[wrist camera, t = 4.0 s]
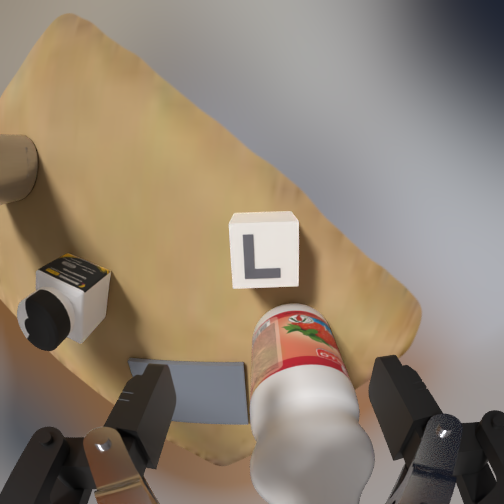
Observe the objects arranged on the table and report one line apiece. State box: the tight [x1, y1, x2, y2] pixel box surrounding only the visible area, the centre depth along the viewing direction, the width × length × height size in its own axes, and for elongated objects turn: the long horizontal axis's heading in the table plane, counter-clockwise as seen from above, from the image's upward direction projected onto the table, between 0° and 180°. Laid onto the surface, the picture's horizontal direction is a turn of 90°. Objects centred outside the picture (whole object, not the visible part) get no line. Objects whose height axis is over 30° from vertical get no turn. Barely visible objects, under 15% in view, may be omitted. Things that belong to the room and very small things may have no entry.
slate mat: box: [128, 358, 248, 424], centre depth 38 cm, size 16×12×1 cm
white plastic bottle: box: [250, 303, 375, 504], centre depth 22 cm, size 9×9×28 cm
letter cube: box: [229, 211, 299, 289], centre depth 29 cm, size 6×6×6 cm
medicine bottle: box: [17, 253, 111, 351], centre depth 28 cm, size 7×7×12 cm
